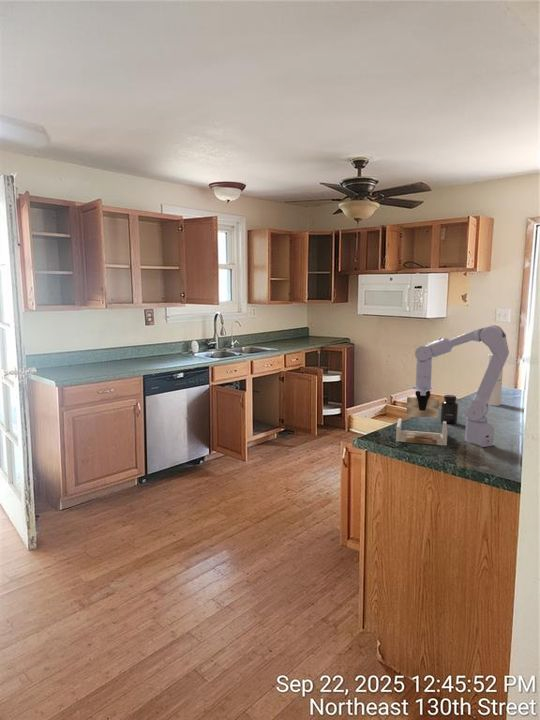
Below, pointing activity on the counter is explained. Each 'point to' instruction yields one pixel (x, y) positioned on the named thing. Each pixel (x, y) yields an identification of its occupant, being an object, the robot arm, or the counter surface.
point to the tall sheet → (430, 410)
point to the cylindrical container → (496, 394)
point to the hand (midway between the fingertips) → (422, 409)
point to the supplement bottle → (449, 410)
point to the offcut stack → (421, 439)
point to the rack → (436, 436)
